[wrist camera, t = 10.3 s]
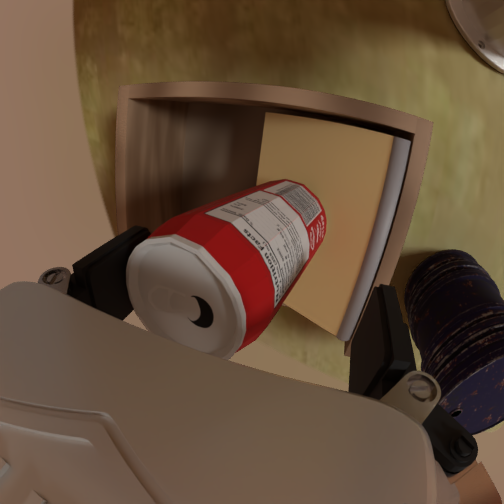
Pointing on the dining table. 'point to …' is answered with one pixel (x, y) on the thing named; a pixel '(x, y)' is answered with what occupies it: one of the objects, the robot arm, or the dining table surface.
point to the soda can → (225, 266)
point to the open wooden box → (236, 149)
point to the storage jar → (460, 336)
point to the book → (338, 208)
